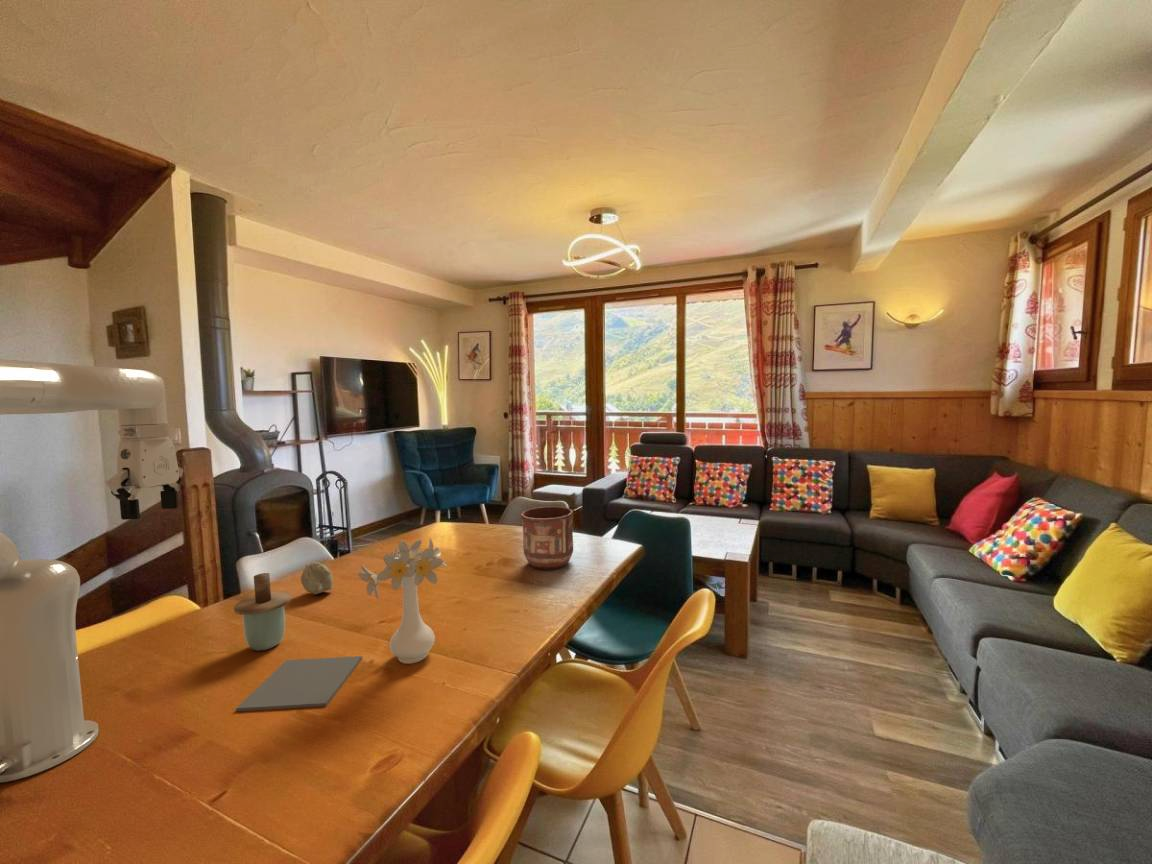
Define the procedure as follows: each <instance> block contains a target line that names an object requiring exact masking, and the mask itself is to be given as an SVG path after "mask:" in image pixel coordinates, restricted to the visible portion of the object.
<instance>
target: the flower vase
mask: <svg viewBox="0 0 1152 864" xmlns="http://www.w3.org/2000/svg"><path fill="white" fill-rule="evenodd" d="M428 539H429V543H428V544H429V547H428V548H425V549H424V550H423V551H420V550H419V549H420V547H421V545H422V540H419V539H418V540H416V541H414V542H413V544H412V543H411V546H409V544H408V543H407V542H406V541H404V540H400V541H399V542H398V543H397V546H396V548H395V551H391V554H388V553H387V554H384V555H383V563H384V564H385V566H386V567H384V569H383V570H382V571H380V572H379V573H378V574H377V573H374V572H372V571H371V570H369V569H367V568H366V566H364V565H363V564H361V565H360V567H361V570H362V571H363V572H358V573H357V574H358V575H357V576H358V577H359V578H360V579H361V580H362V581H364V582H368V583H367V584H366V593H367V595H368V596H371V595H372V594H373V592H374V596H375V597H376V599H377V600H379V598H380V597H379V585H380V584H379V583H380V582H381V581H387V580H390V579H391V582H390V584H391V588H392V590H393V591H398V590H399V588H400V587H401V588H402V616H401V617H402V618H401V622H400V624H399V627H398V628H397V630H396V631H395V632H394V633H393V635H392V637H391V638H390V641H389V651H390V653H391V654H392V655H393V656H394V657H396V658H397V660H398V661H399V662H400V663H401V664H404V665H405V664H407V665H408V664H409V665H410V664H416V663H419V662H421V661H424V660H425V659H426V657H427V656H428V654H429V651H430V650H431V649H432V648H433V646H434V644H435V641H436V637H435V633H434V631H433V630H432V628H431V627H430V626H429V625H428V624H426V623H425V622H424V620H423V619H422V617H421V613H420V610H419V609H420V608H419V598H418V586H419V585H421V584H422V583H423V581H424V579H425V580H427V581H428V582H429V583H431V584H436V583H438V577H437V574H436V573H435V571H433V570H436V569H438V568H439V567H441V566H445V567H448V565H447V564H446V561H444V560H443V559H442V558H441V555H442V551H441V550H440V548H438V547H434V542H433V541H432V538H431V537H429V538H428ZM398 550H399V551H398ZM408 565H409V566H408Z"/></svg>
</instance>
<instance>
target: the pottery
mask: <svg viewBox="0 0 1152 864" xmlns="http://www.w3.org/2000/svg"><path fill="white" fill-rule="evenodd" d="M573 515H574V512H573V510H572V509H570V508H568V507H565V506H553V505H552V506H550V505H549V506H539V507H533V508H529V509H527V510H523V511H522V513H520V519H521V525H522V533H523V534H522V535H523V541H522V543H523V549H522V550H523V554H524V557H525V559H526V561H527V563H528V564H529V565H531V567H533V568H535V570H536V569H537V570H541V571H543V570H544V571H550V570H551V571H552V570H553V571H554V570H558V569H561V568H563V567H565V566H566V565H567V564H568V563H569V562H570V560H571V558H572V555H573V552H574V536H573V534H574V533H573V531H574V530H573V529H574V528H573V523H574V520H573V519H574V518H573V517H574V516H573Z"/></svg>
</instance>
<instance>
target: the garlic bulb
mask: <svg viewBox="0 0 1152 864" xmlns="http://www.w3.org/2000/svg"><path fill="white" fill-rule="evenodd" d="M300 583H301V585H302V588H303V589H304V590H305V591H306V592H308V593H311V594H313V595H317V594H322V593H323V592H326V591H330V590H333V589H334V588H335V587H334V586H333V584H334V578H333V572H332V571H331V569H330V568H329V567H328V566H326V565H324V564H322V563H321V562H315V561H312V562H311V563H308V564H305V568H304V570H303V571H302V572H301V576H300Z"/></svg>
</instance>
